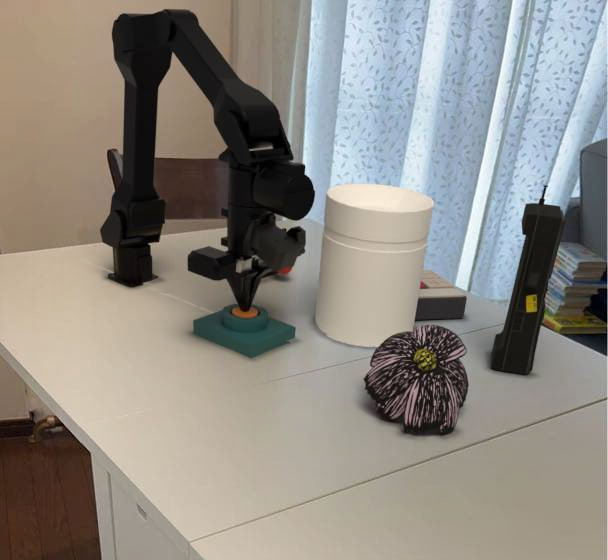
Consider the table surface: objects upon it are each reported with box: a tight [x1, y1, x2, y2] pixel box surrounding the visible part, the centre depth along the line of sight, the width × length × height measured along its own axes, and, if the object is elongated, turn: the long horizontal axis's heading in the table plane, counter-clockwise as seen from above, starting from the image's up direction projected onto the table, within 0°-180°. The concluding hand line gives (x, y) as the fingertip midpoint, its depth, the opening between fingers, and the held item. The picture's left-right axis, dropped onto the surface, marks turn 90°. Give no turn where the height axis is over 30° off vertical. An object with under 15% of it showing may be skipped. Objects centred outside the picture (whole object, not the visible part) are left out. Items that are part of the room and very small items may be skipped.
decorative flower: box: [363, 324, 470, 436], centre depth 104 cm, size 15×12×15 cm
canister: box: [314, 183, 435, 348], centre depth 124 cm, size 16×16×20 cm
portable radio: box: [490, 184, 566, 376], centre depth 114 cm, size 8×6×25 cm
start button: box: [232, 307, 258, 318], centre depth 121 cm, size 4×4×2 cm
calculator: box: [415, 269, 468, 321], centre depth 139 cm, size 11×4×15 cm
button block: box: [192, 303, 296, 359], centre depth 122 cm, size 12×10×4 cm
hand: (244, 310), depth 120 cm, fingers closed, pressing on start button
